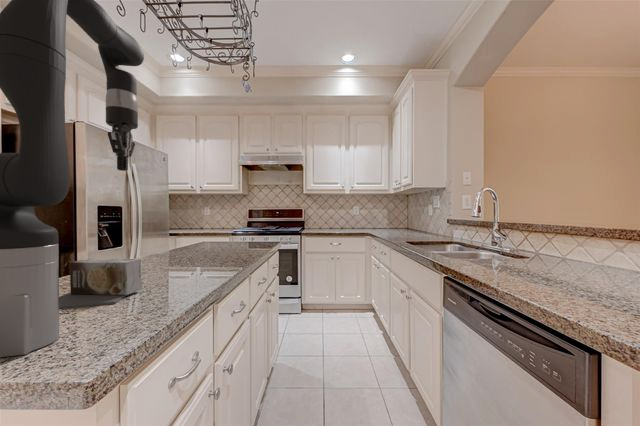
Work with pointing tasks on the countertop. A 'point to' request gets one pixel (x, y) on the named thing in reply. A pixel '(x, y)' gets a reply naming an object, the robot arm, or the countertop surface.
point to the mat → (87, 300)
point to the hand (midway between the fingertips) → (122, 170)
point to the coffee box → (105, 276)
